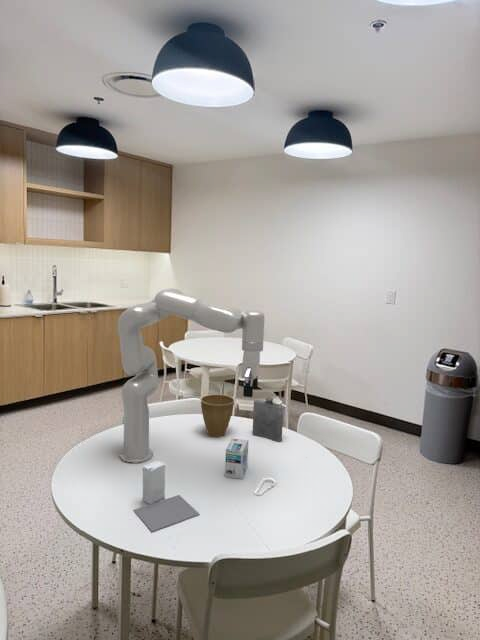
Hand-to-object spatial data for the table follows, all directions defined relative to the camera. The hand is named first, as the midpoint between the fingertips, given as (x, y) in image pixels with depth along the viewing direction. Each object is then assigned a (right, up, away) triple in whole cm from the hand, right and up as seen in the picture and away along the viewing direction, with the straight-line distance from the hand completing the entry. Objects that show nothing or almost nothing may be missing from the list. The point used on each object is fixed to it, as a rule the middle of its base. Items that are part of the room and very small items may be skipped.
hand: (250, 392), depth 161 cm
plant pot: (-14, -25, +40) cm, 49 cm away
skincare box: (-32, -33, -15) cm, 48 cm away
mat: (-27, -34, -22) cm, 48 cm away
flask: (+8, -26, +38) cm, 47 cm away
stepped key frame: (+5, -33, -5) cm, 34 cm away
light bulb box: (-5, -31, +6) cm, 32 cm away
